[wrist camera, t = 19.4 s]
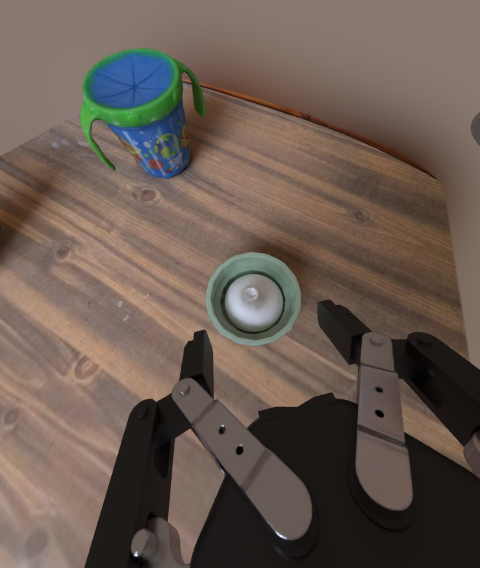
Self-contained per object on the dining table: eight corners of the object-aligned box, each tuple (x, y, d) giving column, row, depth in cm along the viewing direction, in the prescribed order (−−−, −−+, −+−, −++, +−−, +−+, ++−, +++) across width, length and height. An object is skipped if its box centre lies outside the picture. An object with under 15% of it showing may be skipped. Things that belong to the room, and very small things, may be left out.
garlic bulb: (286, 287, 24) (303, 260, 16) (273, 340, 22) (286, 338, 14) (235, 274, 24) (228, 242, 17) (219, 324, 23) (203, 314, 15)
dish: (278, 262, 25) (284, 243, 20) (301, 334, 22) (314, 331, 18) (208, 279, 25) (198, 264, 20) (223, 353, 22) (216, 356, 17)
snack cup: (194, 119, 33) (172, 25, 23) (228, 159, 30) (218, 72, 21) (109, 162, 31) (45, 80, 21) (136, 209, 28) (77, 139, 19)
